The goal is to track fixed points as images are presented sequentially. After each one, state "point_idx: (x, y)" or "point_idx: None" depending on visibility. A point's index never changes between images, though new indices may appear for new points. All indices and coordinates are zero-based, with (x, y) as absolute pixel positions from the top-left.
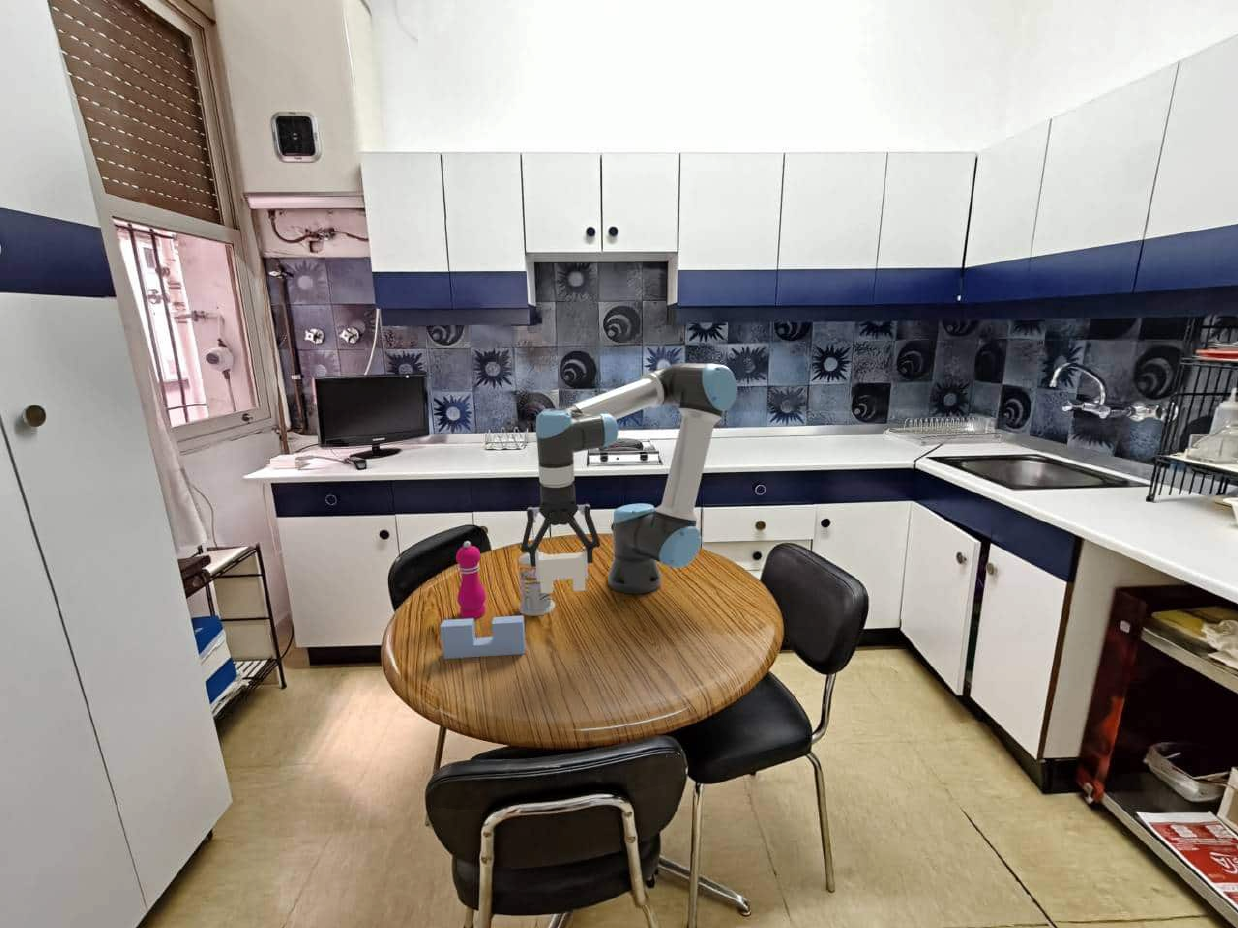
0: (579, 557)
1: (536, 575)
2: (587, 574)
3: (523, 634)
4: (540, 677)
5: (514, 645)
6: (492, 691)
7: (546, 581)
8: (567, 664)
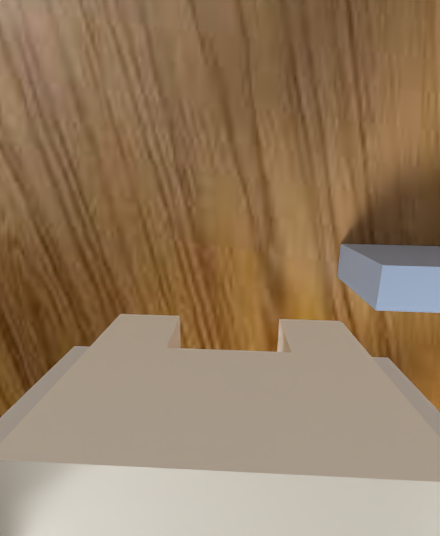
0: (33, 467)
1: (410, 382)
2: (65, 360)
3: (361, 258)
4: (302, 129)
5: (377, 249)
6: (432, 79)
7: (328, 350)
8: (230, 180)
